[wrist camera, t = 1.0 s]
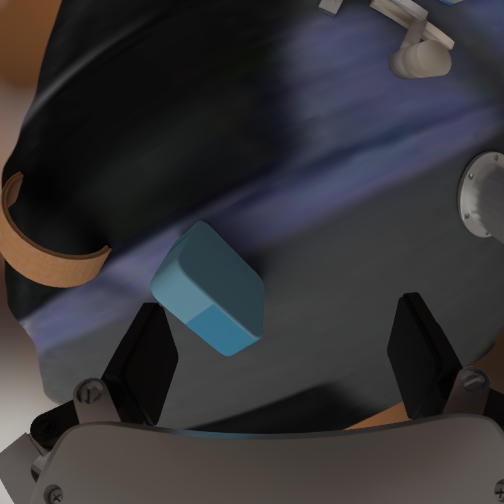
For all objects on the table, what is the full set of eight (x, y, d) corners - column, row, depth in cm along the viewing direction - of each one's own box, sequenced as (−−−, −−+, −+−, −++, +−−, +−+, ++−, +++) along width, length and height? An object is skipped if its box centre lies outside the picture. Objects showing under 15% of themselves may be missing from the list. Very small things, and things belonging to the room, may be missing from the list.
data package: (177, 237, 38) (144, 290, 27) (201, 215, 37) (174, 263, 26) (240, 298, 42) (231, 362, 31) (265, 280, 40) (263, 344, 30)
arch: (21, 169, 34) (-24, 190, 25) (112, 248, 40) (77, 286, 31) (12, 199, 37) (-30, 223, 28) (97, 274, 42) (65, 313, 33)
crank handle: (445, 37, 23) (498, 24, 14) (417, 102, 28) (471, 106, 18) (332, -30, 21) (355, -74, 12) (298, 35, 26) (312, 4, 16)
